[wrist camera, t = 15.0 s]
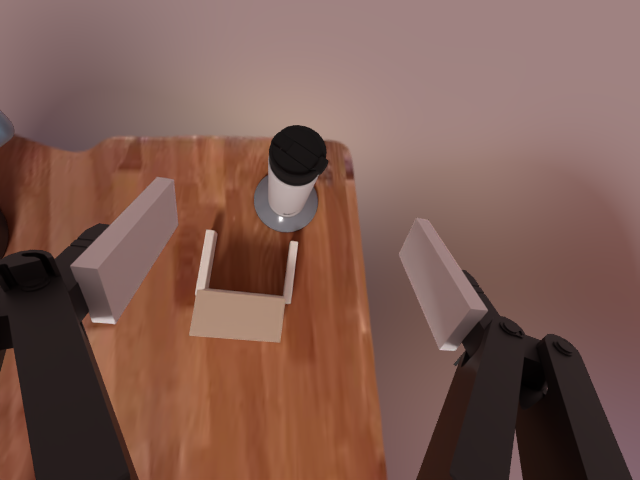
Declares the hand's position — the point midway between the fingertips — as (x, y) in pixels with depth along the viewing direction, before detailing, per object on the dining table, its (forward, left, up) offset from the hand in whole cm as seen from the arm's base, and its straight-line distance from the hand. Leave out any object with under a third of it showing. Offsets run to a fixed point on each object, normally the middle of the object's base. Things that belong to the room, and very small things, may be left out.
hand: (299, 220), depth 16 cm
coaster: (-9, +6, -34) cm, 35 cm away
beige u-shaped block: (+1, -6, -34) cm, 34 cm away
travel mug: (-8, +6, -33) cm, 35 cm away
